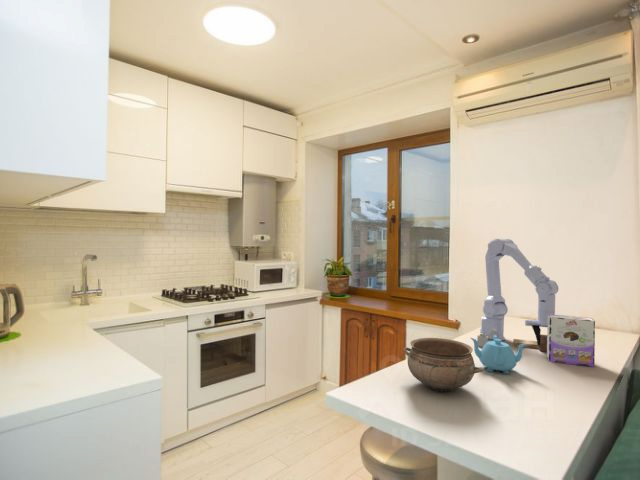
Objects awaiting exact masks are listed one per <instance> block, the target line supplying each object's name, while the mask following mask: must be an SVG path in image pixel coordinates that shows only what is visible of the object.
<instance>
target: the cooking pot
mask: <svg viewBox="0 0 640 480" xmlns="http://www.w3.org/2000/svg"><path fill="white" fill-rule="evenodd" d="M409 344H410V346H411V348H410V347H404V348H403V349H402V350H403V352H404V354H405V355H406V356H407V367H408V370H409V372H410V373H411V376H413V377H414V378H415V379H416V380H417V381H419V383H421V384H423V385H425V386H426V387H428V388H429V389H431V390H433V391H436V392H440V393H441V392H442V393H443V392H445V393H448V392H451V391H453V390H455V389H459V388H462V387H463V386H466V385H467V384H469V383H470V382H471V381H472V379H473V377H474V376H475V374H479V373H481V372H484V370H485V368H484V367H483V366H480V367H478V366H475V365H476V364H475V360H474V357H473V355H472V352H473V351H474V349H473V347H472V346H470V344H468V343H465V342H461V341H458V340H454V339H450V338H441V337H440V338H439V337H423V338H422V337H421V338H416V339H413V340H411V341H410V343H409Z"/></svg>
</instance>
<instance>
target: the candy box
mask: <svg viewBox="0 0 640 480" xmlns="http://www.w3.org/2000/svg"><path fill="white" fill-rule="evenodd" d="M546 328H547V332H546V333H547V334H546V335H547V352H546V358H547V361H548V362H551V363H560V364H567V365H575V366H584V367H592V368H594V367H595V361H596V360H595V359H596V358H595V349H596V347H595V345H596V343H595V340H596V337H595V336H596V320H595V319H594V318H593V317H587V316H586V317H585V316H584V317H583V316H575V315H573V316H572V315H565V314H564V315H563V314H555V315H552V314H548V327H546Z"/></svg>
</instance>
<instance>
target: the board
mask: <svg viewBox="0 0 640 480" xmlns="http://www.w3.org/2000/svg"><path fill="white" fill-rule="evenodd" d="M525 343H527V344H526V345H525V346H524V347H523V348H526V349H527V348H529V349H537V350H539V345H538V344H537V340H528V339H517V338H513V345H514V347H517V348H519V346H520V345H521V344H525Z"/></svg>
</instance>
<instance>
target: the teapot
mask: <svg viewBox="0 0 640 480" xmlns="http://www.w3.org/2000/svg"><path fill="white" fill-rule="evenodd" d="M470 339H471V340H472V341H473V345H474V346H473V348H474V349H473V351H474V354H475V356H476V357H477V358H478V359H479V362H480V363H481V364H482V365H483V366H484V367H485V368H487V369H486V371H487V372H490V373H492V372H494V370H495V371H502V373H503V374H506V375H510V374H511V373H510V371H511V370H512V371H513V370H514V368H515V367H516V366H517V363H519V362H520V361H521V360H522V358H523V350H524V348H525V347H524V346H525V345H526V344H527V343H525V344H521V345H520V346H519V347H517V348H518V349H517V352H516V353H514V350H512V347H511V346H510V345H509V344H508V343H506V342H503V340H500V339H497V335H495V334H494V335H493V339H492V340H491V341H490V340H489V342H487V343H486V344H485V345H484V347H481V348H482V349H480V348H479V346H478V342H477V338H476V339H475V338H473V337H470Z"/></svg>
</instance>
